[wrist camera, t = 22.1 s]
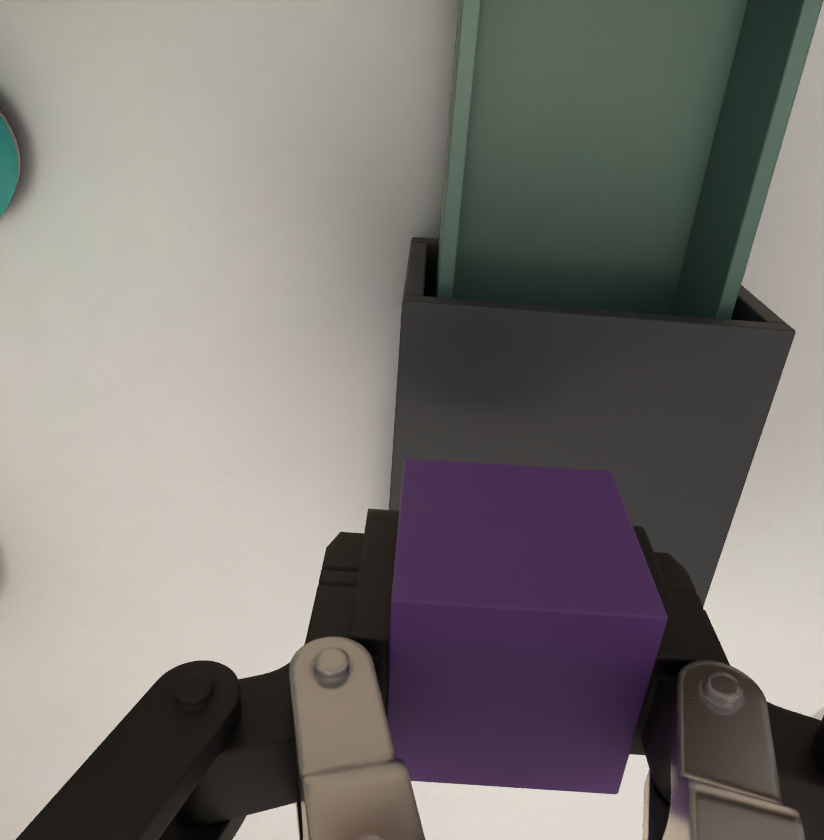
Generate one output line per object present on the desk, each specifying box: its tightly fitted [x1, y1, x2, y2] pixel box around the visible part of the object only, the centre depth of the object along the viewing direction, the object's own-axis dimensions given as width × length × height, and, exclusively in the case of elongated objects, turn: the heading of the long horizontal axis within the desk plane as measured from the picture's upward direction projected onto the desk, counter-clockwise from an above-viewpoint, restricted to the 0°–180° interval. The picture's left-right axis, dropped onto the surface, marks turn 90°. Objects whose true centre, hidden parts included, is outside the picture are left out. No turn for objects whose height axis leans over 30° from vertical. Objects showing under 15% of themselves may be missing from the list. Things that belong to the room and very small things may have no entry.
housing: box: [389, 238, 795, 605], centre depth 27 cm, size 14×11×7 cm
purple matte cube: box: [386, 459, 668, 794], centre depth 13 cm, size 4×4×4 cm
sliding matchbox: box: [434, 0, 823, 320], centre depth 24 cm, size 25×12×9 cm, turn 176°
